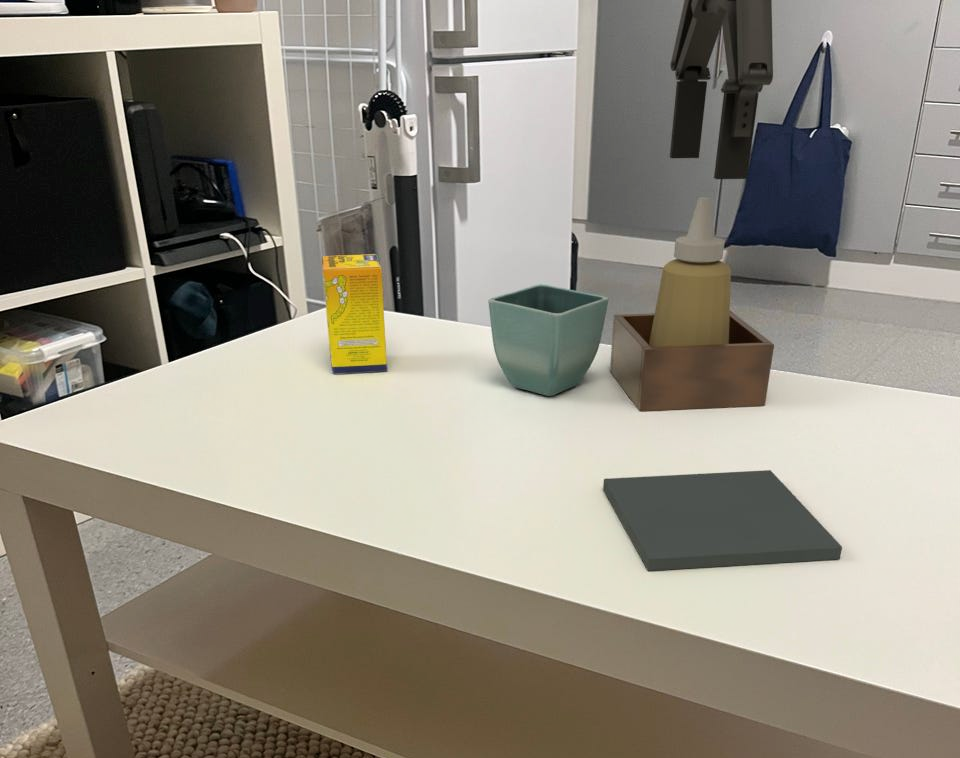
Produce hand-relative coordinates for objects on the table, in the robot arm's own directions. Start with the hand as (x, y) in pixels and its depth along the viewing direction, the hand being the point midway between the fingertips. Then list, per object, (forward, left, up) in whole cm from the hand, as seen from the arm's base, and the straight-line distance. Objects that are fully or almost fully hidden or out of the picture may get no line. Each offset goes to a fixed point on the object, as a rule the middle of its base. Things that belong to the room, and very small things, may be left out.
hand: (705, 168), depth 93 cm
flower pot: (+14, -2, -21) cm, 25 cm away
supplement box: (+33, -12, -21) cm, 41 cm away
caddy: (0, 0, -21) cm, 21 cm away
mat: (+7, +31, -21) cm, 38 cm away
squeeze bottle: (0, 0, -21) cm, 21 cm away
